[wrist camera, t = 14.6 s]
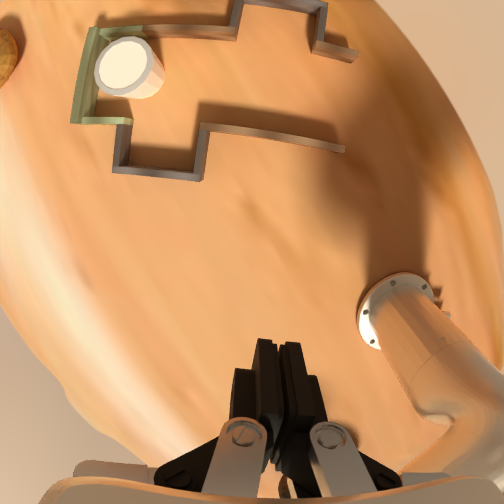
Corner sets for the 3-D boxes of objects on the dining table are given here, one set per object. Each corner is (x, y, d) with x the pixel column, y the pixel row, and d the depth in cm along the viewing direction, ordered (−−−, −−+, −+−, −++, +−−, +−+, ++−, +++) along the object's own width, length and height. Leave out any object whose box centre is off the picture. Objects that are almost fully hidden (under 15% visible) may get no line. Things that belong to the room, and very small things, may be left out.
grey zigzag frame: (355, 20, 29) (364, 9, 25) (328, 199, 37) (337, 204, 33) (112, 1, 28) (101, -10, 24) (81, 168, 35) (65, 170, 31)
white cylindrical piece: (171, 98, 33) (153, 88, 26) (119, 108, 33) (93, 102, 26) (169, 48, 31) (153, 29, 24) (118, 59, 31) (94, 45, 24)
